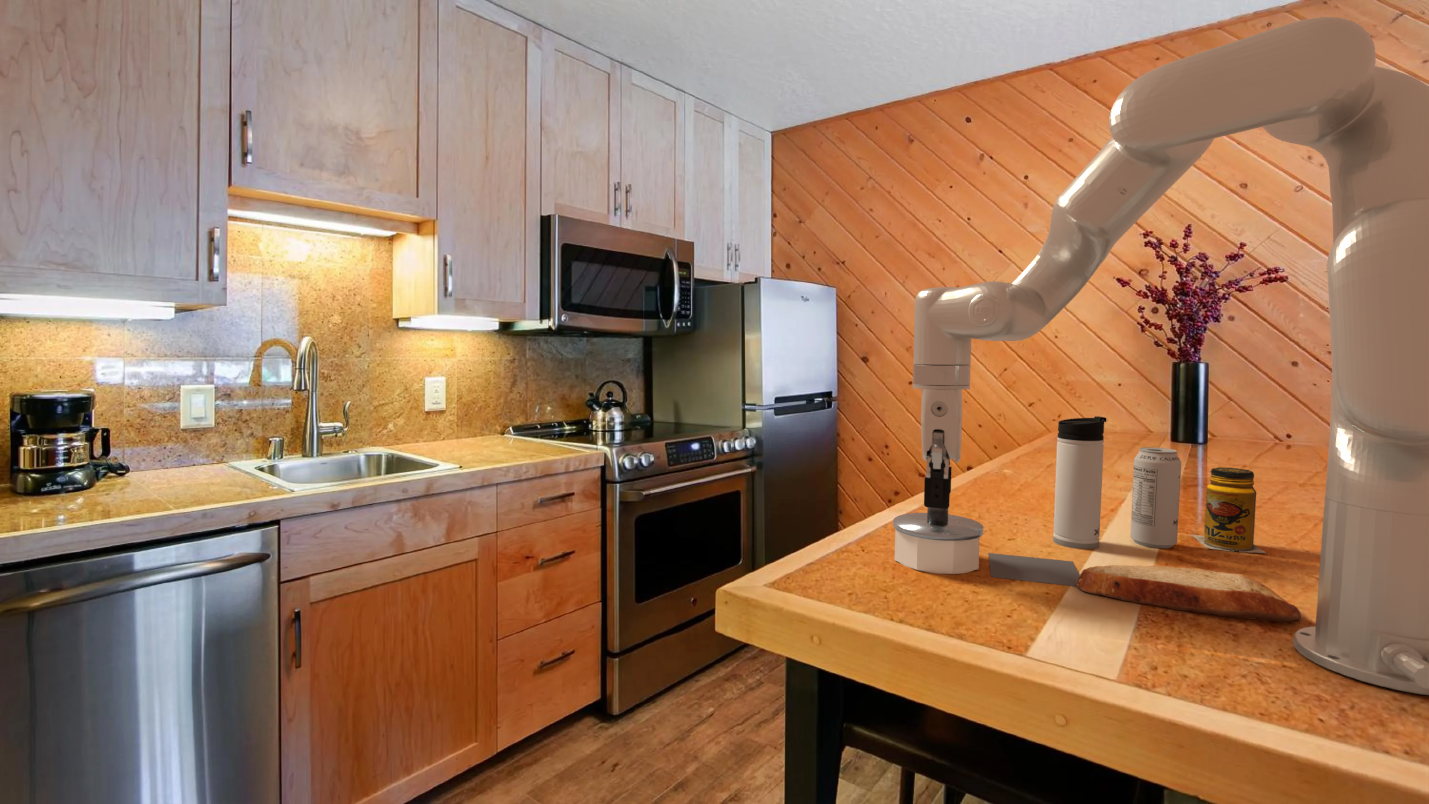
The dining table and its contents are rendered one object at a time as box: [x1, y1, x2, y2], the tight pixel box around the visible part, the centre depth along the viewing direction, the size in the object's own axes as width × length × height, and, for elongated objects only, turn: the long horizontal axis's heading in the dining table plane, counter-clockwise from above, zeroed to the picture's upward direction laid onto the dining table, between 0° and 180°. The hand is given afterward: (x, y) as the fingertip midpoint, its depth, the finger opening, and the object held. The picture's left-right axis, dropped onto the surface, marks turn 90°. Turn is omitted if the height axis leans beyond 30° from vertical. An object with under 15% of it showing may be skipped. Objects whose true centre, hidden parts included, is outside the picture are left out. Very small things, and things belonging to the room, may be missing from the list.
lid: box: [892, 507, 984, 541], centre depth 93 cm, size 12×12×6 cm
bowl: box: [894, 528, 981, 575], centre depth 93 cm, size 11×11×5 cm
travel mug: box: [1052, 415, 1107, 550], centre depth 102 cm, size 6×7×20 cm
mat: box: [988, 552, 1081, 588], centre depth 90 cm, size 11×11×1 cm
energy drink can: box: [1129, 446, 1182, 549], centre depth 102 cm, size 6×6×15 cm
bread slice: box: [1076, 564, 1302, 623], centre depth 79 cm, size 18×18×4 cm
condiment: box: [1191, 466, 1268, 555], centre depth 102 cm, size 7×8×12 cm
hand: (937, 499), depth 93 cm, fingers open, 9 cm apart
